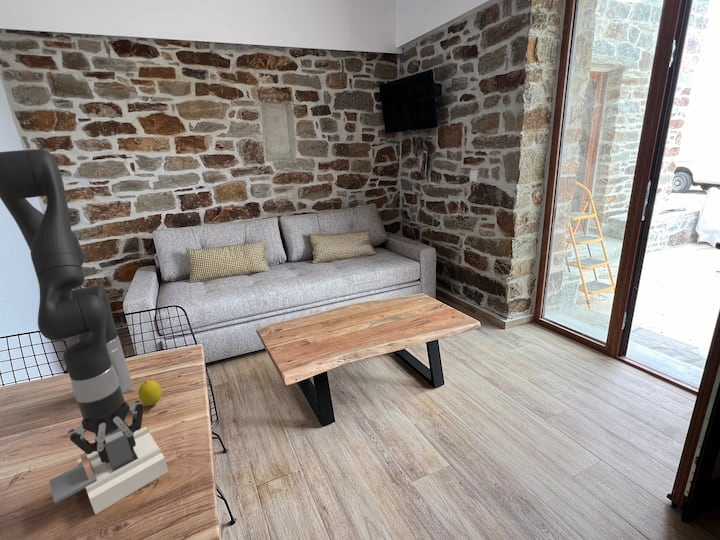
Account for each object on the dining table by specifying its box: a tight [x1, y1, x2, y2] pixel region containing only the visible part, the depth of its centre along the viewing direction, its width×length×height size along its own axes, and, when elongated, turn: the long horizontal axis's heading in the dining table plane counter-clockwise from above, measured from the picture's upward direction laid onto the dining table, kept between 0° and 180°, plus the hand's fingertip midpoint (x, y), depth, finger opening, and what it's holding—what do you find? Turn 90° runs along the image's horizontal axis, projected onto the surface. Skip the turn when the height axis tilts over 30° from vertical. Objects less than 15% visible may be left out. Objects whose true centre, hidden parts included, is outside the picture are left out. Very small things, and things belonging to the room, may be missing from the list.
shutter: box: [49, 452, 97, 505], centre depth 76 cm, size 7×7×4 cm
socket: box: [77, 426, 169, 515], centre depth 83 cm, size 14×14×5 cm
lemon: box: [138, 379, 163, 406], centre depth 105 cm, size 6×6×8 cm
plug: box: [104, 428, 134, 472], centre depth 81 cm, size 4×4×10 cm
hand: (119, 454), depth 82 cm, fingers closed on plug, 4 cm apart
